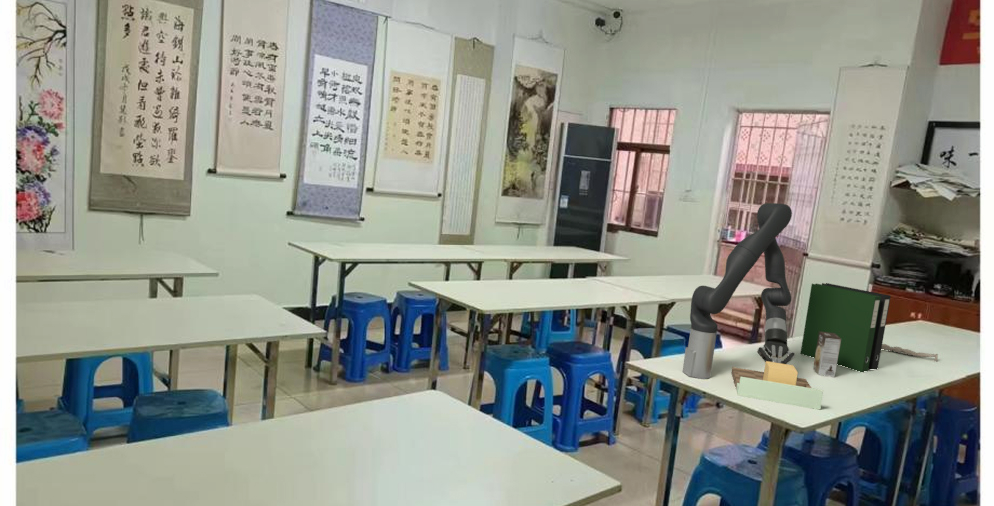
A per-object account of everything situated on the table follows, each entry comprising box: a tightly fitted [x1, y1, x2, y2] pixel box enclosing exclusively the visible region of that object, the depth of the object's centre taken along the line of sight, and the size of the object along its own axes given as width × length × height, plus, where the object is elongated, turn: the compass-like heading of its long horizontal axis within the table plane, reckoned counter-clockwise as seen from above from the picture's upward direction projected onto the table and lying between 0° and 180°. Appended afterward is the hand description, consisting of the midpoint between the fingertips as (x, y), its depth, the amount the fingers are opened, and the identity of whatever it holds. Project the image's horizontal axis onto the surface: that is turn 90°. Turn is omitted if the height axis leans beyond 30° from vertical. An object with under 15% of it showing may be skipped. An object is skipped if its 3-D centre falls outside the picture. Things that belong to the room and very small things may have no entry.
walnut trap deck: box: [730, 366, 812, 388], centre depth 236 cm, size 27×26×2 cm
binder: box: [800, 282, 892, 373], centre depth 287 cm, size 27×15×32 cm, turn 36°
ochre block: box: [763, 361, 799, 386], centre depth 229 cm, size 9×9×8 cm
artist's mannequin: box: [881, 343, 939, 362], centre depth 317 cm, size 28×4×30 cm
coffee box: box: [812, 332, 841, 378], centre depth 265 cm, size 9×6×16 cm
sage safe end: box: [735, 377, 824, 410], centre depth 225 cm, size 7×26×6 cm, turn 75°
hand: (775, 374), depth 234 cm, fingers closed
